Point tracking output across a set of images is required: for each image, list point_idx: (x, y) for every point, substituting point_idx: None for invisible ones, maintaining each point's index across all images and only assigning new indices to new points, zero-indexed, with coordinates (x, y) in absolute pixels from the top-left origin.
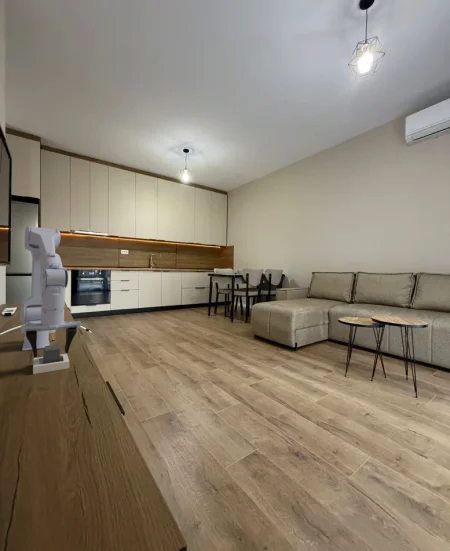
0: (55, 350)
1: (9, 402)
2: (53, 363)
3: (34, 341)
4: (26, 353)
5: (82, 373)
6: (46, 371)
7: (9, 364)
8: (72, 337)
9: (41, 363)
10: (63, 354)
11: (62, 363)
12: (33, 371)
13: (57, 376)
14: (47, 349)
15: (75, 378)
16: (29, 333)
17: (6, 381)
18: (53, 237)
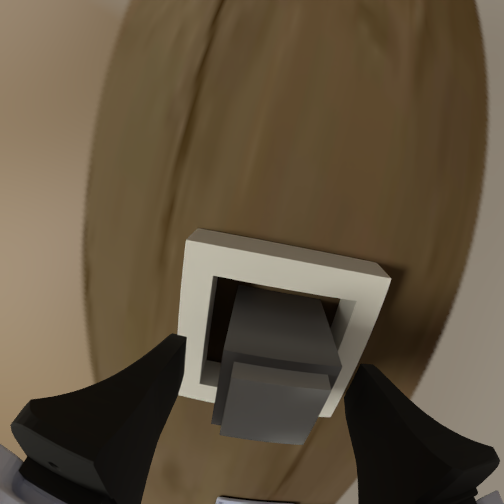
0: (258, 356)
1: (471, 19)
2: (283, 267)
3: (429, 436)
4: (294, 488)
5: (163, 89)
6: (317, 252)
7: None
8: (86, 392)
9: None
10: (192, 392)
11: (230, 245)
12: (380, 267)
13: (288, 130)
14: (314, 383)
15: (218, 38)
16: (462, 499)
17: (467, 244)
18: None
